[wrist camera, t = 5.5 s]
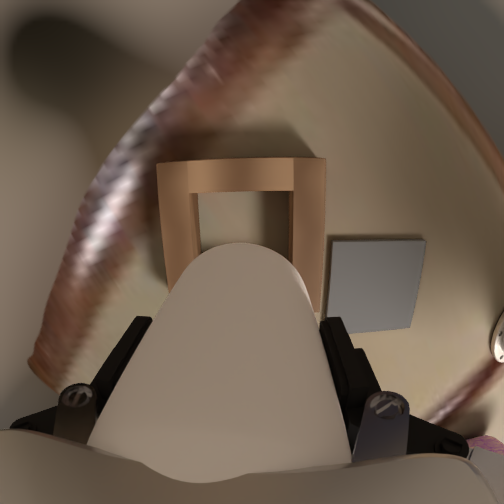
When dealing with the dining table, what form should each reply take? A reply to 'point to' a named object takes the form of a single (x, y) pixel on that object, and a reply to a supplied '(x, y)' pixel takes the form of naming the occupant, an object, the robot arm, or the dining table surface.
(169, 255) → the pocket block
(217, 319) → the can
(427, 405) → the dining table surface
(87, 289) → the dining table surface
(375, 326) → the coaster
